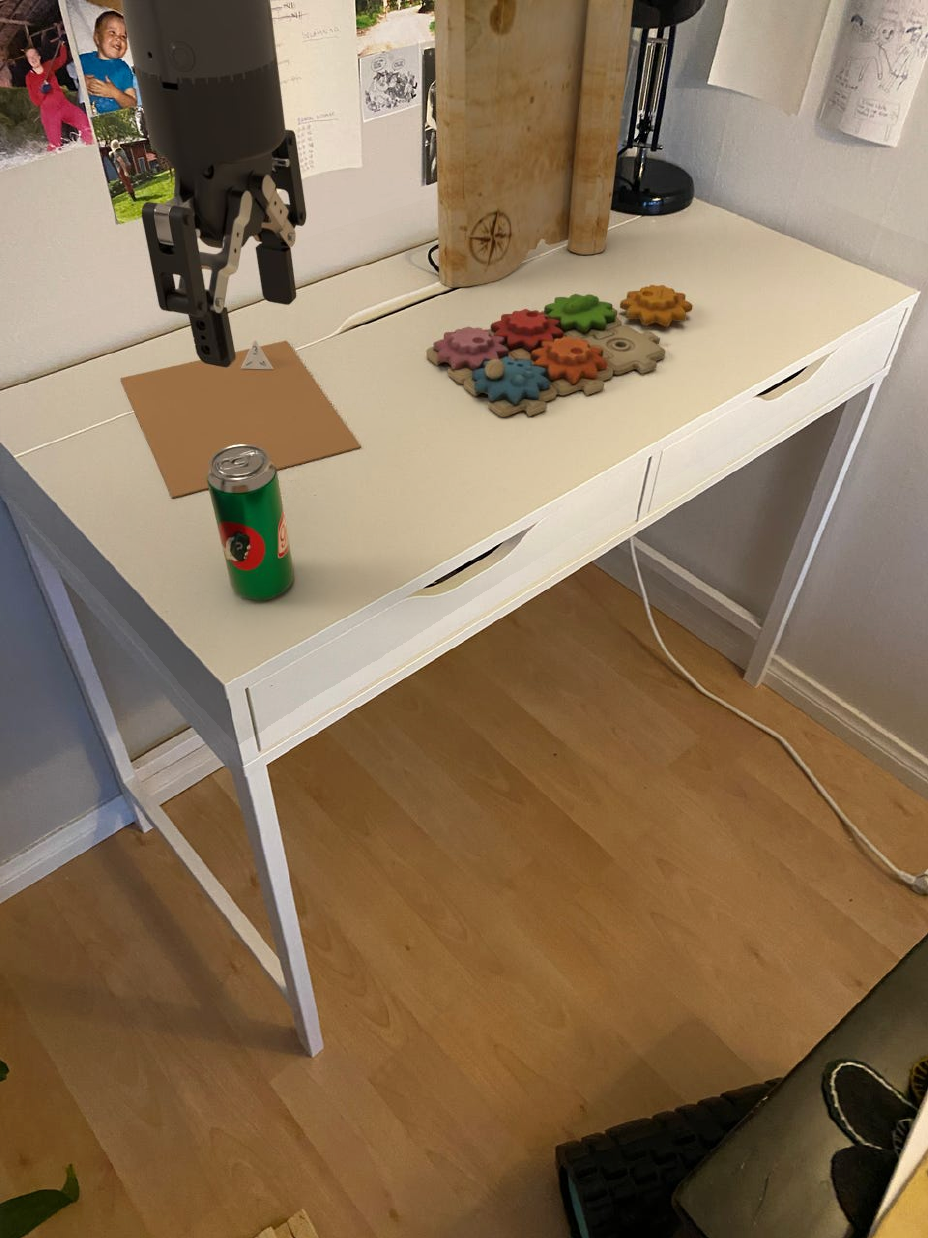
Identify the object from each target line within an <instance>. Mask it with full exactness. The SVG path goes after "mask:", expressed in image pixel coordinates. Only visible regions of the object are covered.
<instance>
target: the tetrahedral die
mask: <svg viewBox="0 0 928 1238" xmlns="http://www.w3.org/2000/svg"><path fill="white" fill-rule="evenodd" d="M260 346H261V345H259V343H258V341H257V340H256V339H254V340H253V341H252V344H251V346H250V348H249V349H250V350H249V352H248V354H247V356H246V358H245V360H244V363H243V365H242V367H241V369H260V370H273V367H272V365H271V364H270V362H269V361H268V359H267V357H266V356H265V354H264V353H263V351H262V349H261V348H260Z"/></svg>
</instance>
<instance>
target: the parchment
mask: <svg viewBox="0 0 928 1238" xmlns="http://www.w3.org/2000/svg"><path fill="white" fill-rule="evenodd" d="M633 7H634V0H434V63H435V64H434V65H435V67H434V68H435V71H434V72H435V114H436V115H435V123H436V124H435V125H436V126H435V127H436V129H435V130H436V180H437V182H436V184H437V189H436V190H437V237H438V241H437V243H438V277H439V280H440V284H442V285H445V286H447V287H449V288H451V289H452V288H463V287H470V286H471V287H472V286H478V285H484V284H487V283H491V282H495V281H498V280H501V279H503V278H504V277H507V276H508V275H510V274H512V273H513V272H514V271H516V269H517V268H518V267H519V266H521V264H522V263H523V262H524V261H525V259H526V256H527V255H528V254H529V252H530V251H534V250H536V249H537V247H538V245H539V243H540V242H541V241H542V240H544V243H545V244H546V245H548V246H551V245H555V244H559V243H562V242H565V241H567V247H566V249H567V250H569V251H570V252H571V253H574V254H577V255H593V254H594V255H595V254H598V253H603V252H604V250H605V249H606V247H607V239H608V232H609V231H608V230H609V224H610V217H611V216H610V215H611V208H612V200H613V192H614V184H615V176H616V166H617V158H618V151H619V150H618V149H619V139H620V131H621V121H622V113H623V103H624V95H625V86H626V77H627V67H628V59H629V58H628V57H629V47H630V38H631V37H630V36H631V27H632V16H633Z"/></svg>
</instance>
